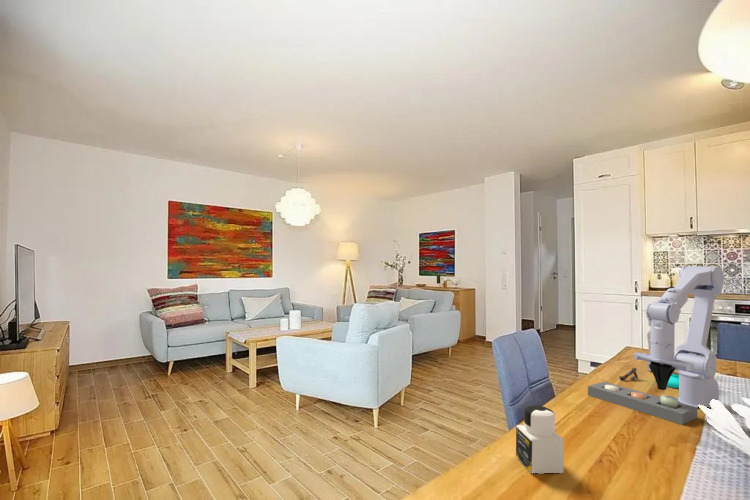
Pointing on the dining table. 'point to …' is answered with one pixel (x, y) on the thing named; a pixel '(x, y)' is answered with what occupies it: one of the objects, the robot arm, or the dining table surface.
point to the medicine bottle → (539, 442)
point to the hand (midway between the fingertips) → (662, 389)
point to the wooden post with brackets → (629, 375)
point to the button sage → (669, 401)
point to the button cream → (612, 387)
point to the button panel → (644, 403)
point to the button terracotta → (639, 395)
